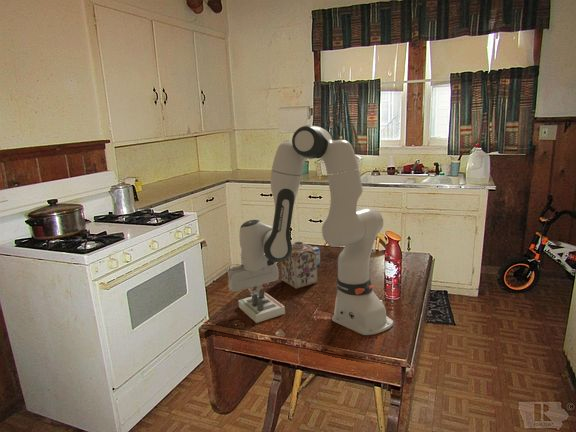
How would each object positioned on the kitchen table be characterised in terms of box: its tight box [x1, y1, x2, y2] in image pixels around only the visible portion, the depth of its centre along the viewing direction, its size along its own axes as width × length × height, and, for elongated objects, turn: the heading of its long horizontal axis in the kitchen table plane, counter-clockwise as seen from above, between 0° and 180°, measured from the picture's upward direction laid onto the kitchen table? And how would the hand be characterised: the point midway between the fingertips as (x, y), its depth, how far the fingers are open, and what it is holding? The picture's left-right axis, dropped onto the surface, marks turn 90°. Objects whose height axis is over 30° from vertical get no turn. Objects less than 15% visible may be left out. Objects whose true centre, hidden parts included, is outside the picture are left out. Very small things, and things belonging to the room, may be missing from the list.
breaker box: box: [238, 292, 286, 324], centre depth 160 cm, size 15×12×7 cm
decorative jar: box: [280, 241, 318, 289], centre depth 183 cm, size 12×12×18 cm
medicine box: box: [311, 246, 321, 267], centre depth 203 cm, size 8×4×9 cm, turn 118°
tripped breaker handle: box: [259, 285, 265, 298], centre depth 164 cm, size 2×2×4 cm
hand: (255, 295), depth 163 cm, fingers closed
